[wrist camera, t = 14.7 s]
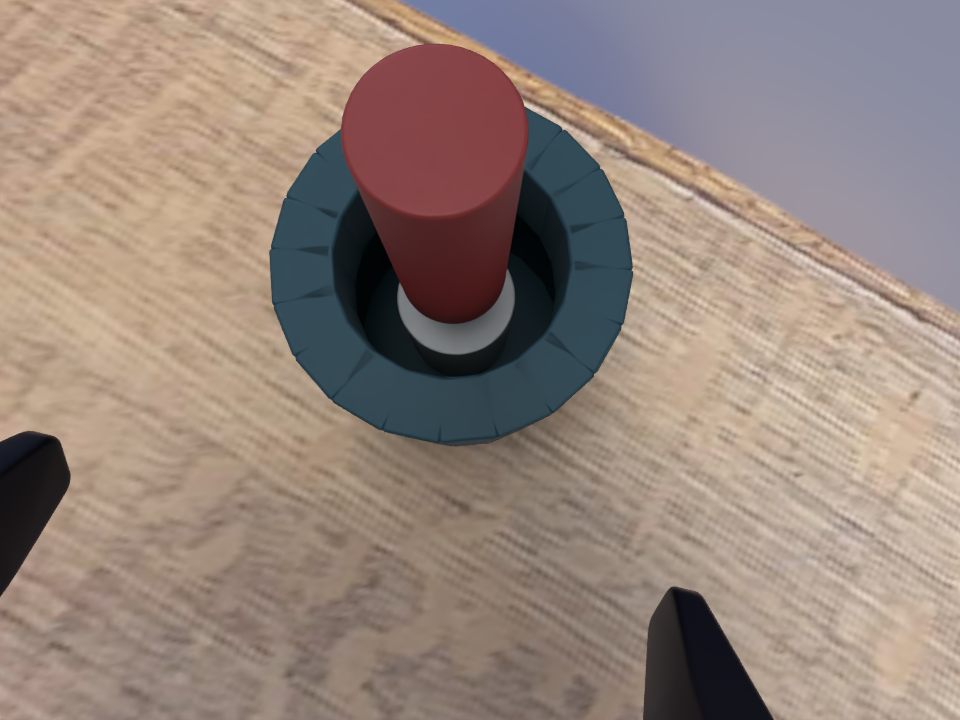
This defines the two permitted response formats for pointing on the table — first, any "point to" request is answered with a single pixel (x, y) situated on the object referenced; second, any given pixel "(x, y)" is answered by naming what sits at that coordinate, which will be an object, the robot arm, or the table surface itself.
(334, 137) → the teal hollow cylinder
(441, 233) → the red cylindrical rod
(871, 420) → the table surface
